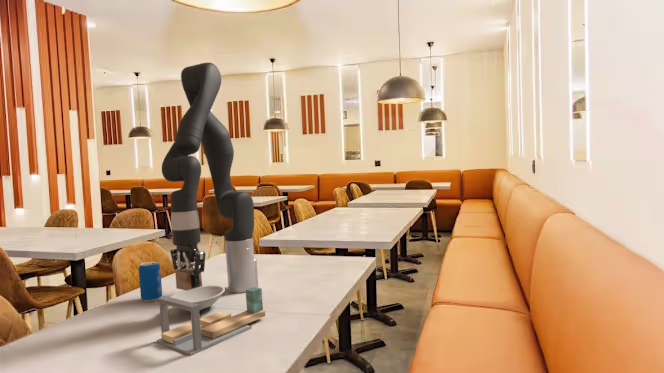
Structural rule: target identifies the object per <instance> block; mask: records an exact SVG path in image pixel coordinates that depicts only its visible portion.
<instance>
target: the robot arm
mask: <svg viewBox="0 0 664 373" xmlns="http://www.w3.org/2000/svg"><path fill="white" fill-rule="evenodd" d="M180 80H181V86H182V89H183V91H184V94H185V97H186V99H187V101H188V105H189V108H188V109H187V111H186V112H185V114H183V116H182V117H181V119H180V121H179V124H178V126H177V132H176V135H175V139H174V142H173V144H172V145H171V146H170V148H169V149H168V151H167V153H166V155H165V156H164V159H163V160H162V162H161V173H162V176H163V178H164V179H165V180H166V181H168V182H171V183H172V182H173V183H174V182H175V183H176V182H177V183H178V182H180V183H181V182H183V184H182V187H181V188H180V189H177V190H174V191H172V192H171V193H170V212H171V216H170V225H171V226H170V227H171V238H172V240H171V242H172V245H174V246H176V248H173V249H170V251H169V252H170V257H171V262H172V266H173V270H174V271H177V270H181V269H185V268H189V269H190V273H191V285H192V288H197V287H199V286H200V282H199V281H200V280H199V274H200V273H201V274H202V273H204V272H205V268H206V267H205V264H206V252H205V251H200V250H199V247H198V244H200V242H201V229H200V228H201V227H200V226H201V225H200V217H199V212H198V200H197V197H198V196H197V195H198V189H199V185H200V180H201V175H202V164H201V162H200V160H199V159H198V158H197V157H196V156H193V154H196V153H197V152H198V151H199V150H200V147H201V146H202V148H203V153H204V156H205V158H206V162H207V166H208V168H209V173H210V176H211V181H212V187H213V190H214V191H213V193H214V197H215V203H216V208H217V211H218V213H219V214H220V216H221V217H223V218H224V219H228V220H229V219H231V220H232V226H231V228H229V229H228V230H226V231H225V232H224V243H225V244H224V245H225V247H224V248H225V259H226V270H227V271H226V272H227V285H228V288H227V289H228V291H229V292H231V293H233V294H235V293H237V294H238V293H246V289H249V288H252V287H257V288H259V277H258V276H259V275H258V262H257V259H256V258H255V255H254V254H255V252H254V251H255V250H254V237H253V235H254V234H253V232H254V230H255V208H254V207H255V206H254V199H253V197H252V196H251V195H250V193H248V192H247V191H234V188H233V185H232V181H231V169H232V166H233V161H234V154H235V151H234V146H233V143H232V139H231V136H230V133H229V130H228V129H227V127H226V126H225V125H224V124H223V123H222V122H221V121H220V120H219V119H218V117H216V116H215V114H214V113H213V112H212V111H211V109H213V108H212V107H213V105H214V103H215V100H216V98H217V96H218V94H219V91H220V88H221V85H222V75H221V72H220V70H219V67H218V66H217V65H216V64H214V63H212V62H203V63H202V62H201V63H199V64H195V65H194V64H193V65H189V66H185V67H183V69H182V70H181V71H180ZM193 268H194V269H193Z"/></svg>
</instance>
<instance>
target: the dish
mask: <svg viewBox="0 0 664 373" xmlns="http://www.w3.org/2000/svg"><path fill="white" fill-rule="evenodd" d="M225 291H226V288H225V286H223V285H214V284H213V285H211V284H210V285H202V286H201V287H198V288H194V289H191V290H187V291H186V290H180V291H179V292H177V293H175V294H172V295H170V297H171V298H175V299H179V300H183V301H187V302H191V303H195V304H199V305H200V309H199V312H200V311H201V312H202V310H203V309H206V308H208V307H210V306H213V304H215V303H216V302H217V301H218V300H219V299H220V298H221V296H222V294H224V293H225ZM179 309H180V310H182V311H188V310H184V309H181V308H179ZM188 312H189V311H188Z"/></svg>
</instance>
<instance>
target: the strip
mask: <svg viewBox="0 0 664 373" xmlns="http://www.w3.org/2000/svg"><path fill="white" fill-rule="evenodd" d="M262 290H263V289H262V288H261V287H252V288H249V289H246V292H245V300H246V303H245V304H246V310H244V311H243V312H240V313H237V314H235V315H231V317H229V318H227V319H224V320H222V321H219V322H217V323H214V324H212V325H209V326H207V327H204V328H202V329H201V331H202V335H204V336H207V337H210V338H216V337H218V336H220V335H223V334H225V333H227V332H230V331H232V330H234V329H237V328H239V327H241V326H244V325H249V324H250V323H253V322H254V321H255V322H256V321H258V320H259V319H263V318H265V317H266V310H265V309H264V306H263V291H262Z"/></svg>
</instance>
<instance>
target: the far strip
mask: <svg viewBox="0 0 664 373" xmlns="http://www.w3.org/2000/svg"><path fill="white" fill-rule="evenodd" d="M202 328H203V325H200V329H202ZM190 333H192V322H187V323H185V324H183V325H180V326H177V327H174V328H172V329H169V331H167V332H164V333H162V332H161V334H160V335H161V338H162V340H164V341H167V342H170V343H174V342H173V340H175V339H178V338H180V337H183V336H185V335H188V334H190Z"/></svg>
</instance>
